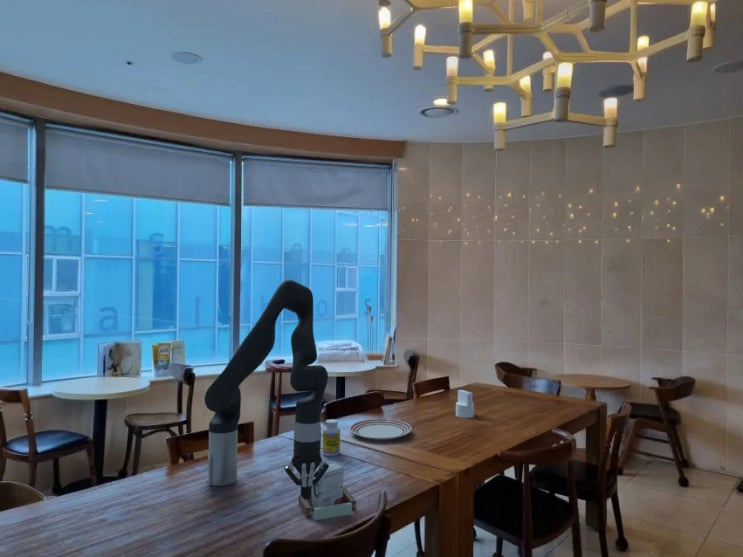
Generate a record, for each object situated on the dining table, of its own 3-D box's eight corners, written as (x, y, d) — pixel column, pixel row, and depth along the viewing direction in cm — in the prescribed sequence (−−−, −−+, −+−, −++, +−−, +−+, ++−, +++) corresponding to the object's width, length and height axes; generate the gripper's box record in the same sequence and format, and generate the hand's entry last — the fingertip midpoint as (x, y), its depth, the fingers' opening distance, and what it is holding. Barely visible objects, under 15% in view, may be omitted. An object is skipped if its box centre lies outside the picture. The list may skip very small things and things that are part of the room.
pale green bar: (314, 520, 145) (314, 509, 145) (313, 518, 146) (313, 508, 146) (351, 514, 149) (351, 504, 149) (350, 512, 150) (350, 502, 150)
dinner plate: (388, 448, 209) (388, 440, 209) (336, 435, 225) (336, 428, 225) (423, 433, 231) (423, 425, 231) (374, 422, 247) (374, 415, 247)
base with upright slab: (452, 414, 263) (452, 390, 263) (466, 412, 266) (467, 389, 266) (462, 418, 254) (462, 394, 254) (477, 416, 258) (477, 392, 258)
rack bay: (306, 516, 147) (306, 488, 147) (296, 500, 159) (297, 474, 159) (355, 509, 153) (356, 482, 153) (343, 493, 164) (343, 468, 164)
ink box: (333, 500, 159) (334, 462, 159) (344, 505, 155) (344, 466, 155) (310, 508, 153) (310, 468, 153) (320, 514, 149) (321, 473, 149)
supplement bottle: (324, 457, 197) (324, 423, 197) (321, 451, 203) (321, 419, 203) (341, 456, 199) (341, 422, 199) (337, 450, 205) (338, 418, 205)
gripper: (326, 431, 151) (325, 490, 151) (281, 434, 146) (279, 495, 146) (333, 438, 144) (332, 501, 144) (286, 442, 139) (284, 507, 139)
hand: (305, 498), depth 145 cm, fingers closed
